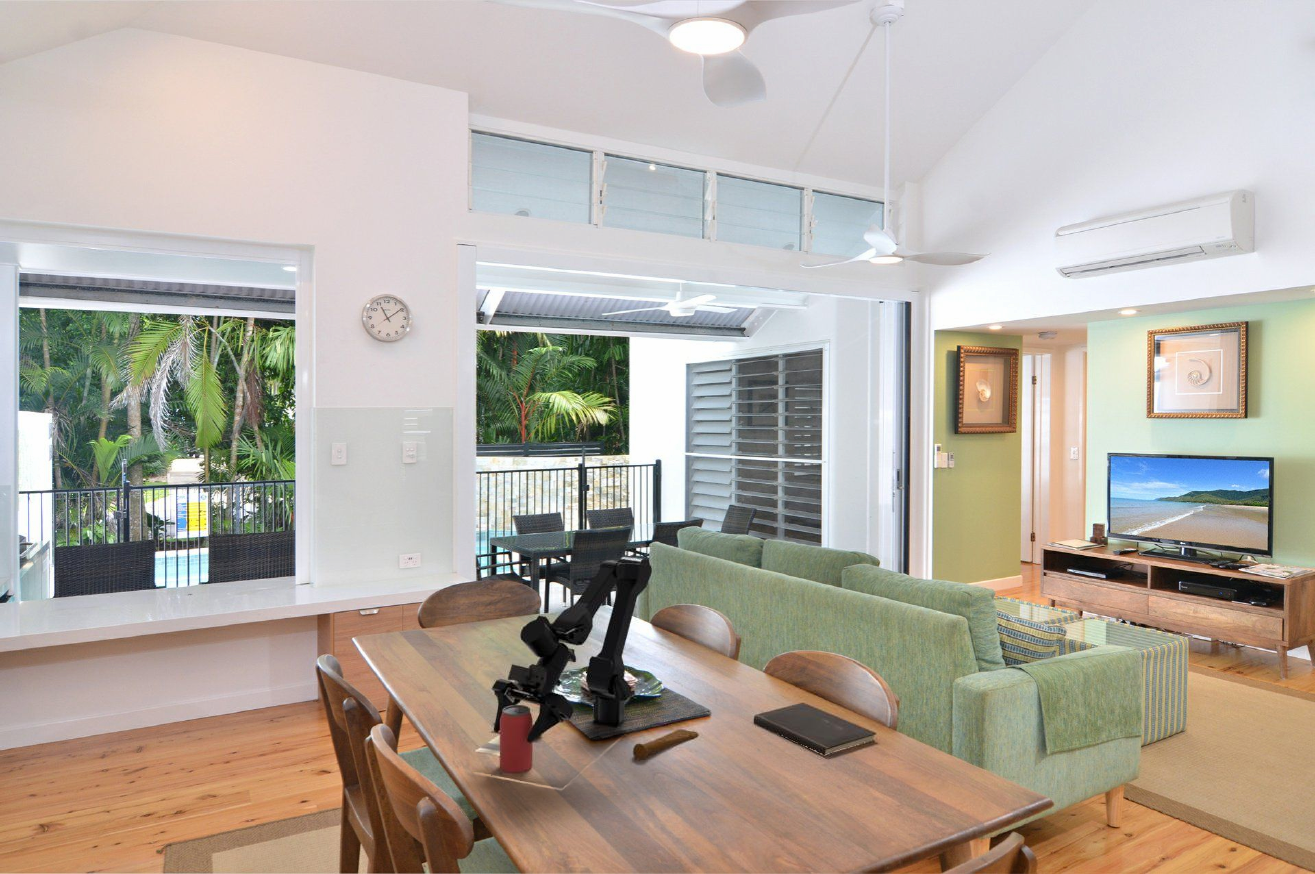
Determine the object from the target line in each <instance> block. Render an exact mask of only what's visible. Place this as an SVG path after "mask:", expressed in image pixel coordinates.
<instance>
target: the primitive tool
mask: <svg viewBox="0 0 1315 874" xmlns="http://www.w3.org/2000/svg"><path fill="white" fill-rule="evenodd" d="M699 736H700V734H699V733H698V732H696V731H694V730H693V731H692V730H687V729H683V728H682V729H681V728H677V729H676V730H674V731H672V732H670V733H668V734H665V735H663V736H660V737H658V738H655V739H654V740H651V741H648V742H646V743H636V744H635V745H634V746H633V751H632V753H633V757H634V759H637V760H639V761H644V760H646V758H647V757H648V756H650V755H652V754H656V753H658V752H660V751H663V750H666V749H668V748H670V747H674V746H675V745H678V744H681V743H683V742H686V741H689V740H693V739H695V738H698V737H699Z"/></svg>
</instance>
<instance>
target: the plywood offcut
mask: <svg viewBox="0 0 1315 874" xmlns="http://www.w3.org/2000/svg"><path fill="white" fill-rule="evenodd" d="M474 752H476V753H480V754H485V755H492V756H497V757H500V734H499V735H497V736H496V737H494V738H493V739H491V740H489V741H487V742H486V743H485V744H483V745H482V746H480V747H479V748H477V749H476V750H474Z"/></svg>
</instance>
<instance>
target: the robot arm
mask: <svg viewBox="0 0 1315 874" xmlns="http://www.w3.org/2000/svg"><path fill="white" fill-rule="evenodd" d="M649 561H650V560H648V559H646V558H640V557H632V556H622V557H621V558H619V559H618V560H616V559H615V560H614V559H613V560H604V561H602V562H601V563H600V566H599V570H598V572H597V573H596V574H595V575H594V577H593V578H592V580H591V581H590V583H588V586H587V587H586V588H585V590H584V591H583V592H582V594H581V595H580V597H579V598H578V600H577V601H576V602H575V603H574V604H573V605H572V606H569V607H567V608H566V609H564V610H563V611H562V612H561V613H560V614H559V615H558V616H557V617H556V618H555V619H554V621H552V622H550V621H549V620H550V619H549V618H547V616H546V615H545V616H544V615H538V616H537V618H536V619H533V620H530V621H529V622H528V623H527V624H526V625H524V626H523V627H522V629H521V631H520V640H521V641H522V642H523V644H525V646H526V647H528V649H529V650H530V651H531V652H532V653H533V654H534V656H536V657H538V660H537V662H536V664H535V663H532V664H530V665H529V666H528V667H525V666H521V665H517V664H514V663H512V664H511V667H510V669H509V673H508V676H507V679H503V678H499V679H496V681H495V682H494V684H493V685H492V687H491V690H492V691H493V693H494V696H495V697H496V698H497V703H498V704H497V711H496V714H495V715H496V716H495V721H494V723H495V725H493V731H494V732H495V733H496V734H498V733H500V718H501V715H502V713H503V712H502V710H503V709H504V708H506V707H508V706H512V705H519V704H520V703H521V702H522V701H523V702H526V703H530V704H534V705H537V706H539V710H538V712H539V713H538V716H537V717H536V720H535V722H533V727H532V729H531V731H530V733H529V735H528V738H527V742H528V743H531V742H533V743H534V741H535V740H537V739H538V738H539V736H540V735H542V736H543V734H544V733H546V732H547V731H549V730H550V729H551V728H553V727H555V726H556V725H558V724H559V723H564V721H565V720H566V721H570V720H571V719H572V716H573V714H574V706H573V704H572V703H571V702H570V701H569V700H568V699H567V697H565V695H564V694H560V693H556V692H553V690H554V689H555V687H561V684H562V681H561V680H560V678H561V676H562V674H563V672H564V671H565V668H566V667H567V665H568V662H571V663H576V662H577V656H576V654H575V653H576V652H575V649H574V648H571V647H569V646H568V645H572V646H582V645H584V643H586V642H587V640H588V637H589V636H590V633H591V632H592V630H593V627H594V625H593V623H594V617H595V615H596V614H597V612H598V610H600V607H601V606H602V605H603V603H604V602H605V601H606V599H607V598H608V596H609V594H610V593H611V591H612V590H614V589H613V588H614V587H616V596H615V599H614V602H613V606H612V609H611V610H612V611H611V614H610V618H609V622H608V624H607V627H606V628H607V629H606V632H605V636H604V640H603V643H602V647H601V651H599V653H598V654H597V655H596V656H593V655H591V657H590V658H589V661H588V667H587V668H586V671H585V674H586V675H585V676H586V677H585V683H587V688H588V692H589V695H590V696H594V701H593V702H592V708H593V709H592V719H593V720H592V721H591V724H593V725H599V726H605V727H609V728H610V727H612V728H618V727H619V726H621V724H623V723H624V722H626V721H627V720H628V716H625V714H626V713H625V711H626V710H625V706H626V705H625V703H626V701H628V699H629V698H630V697H631V694H632V693H631V692H632V687H631V685H630V684H629V682H628V681H627V680H626V679H625V674H626V668H625V664H624V663H625V662H624V660H623V654H624V649H625V645H626V642H627V639H628V635H629V630H630V627H631V623H632V618H633V615H634V614H633V613H634V612H635V611H634V610H635V608H636V603H637V599H638V597H639V595H640V594H641V593H642V592H644V590H645V589H646V588H647V586H648V584H649V581H650V578H651V575H652V572H653V569H652V565H651V563H650V562H649ZM567 644H568V645H567ZM513 681H515V682H517V685H518V686H519V688H518V686H517V685H516V684H515V683H514V682H513ZM520 688H521V689H520Z"/></svg>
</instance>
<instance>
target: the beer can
mask: <svg viewBox="0 0 1315 874" xmlns="http://www.w3.org/2000/svg"><path fill="white" fill-rule="evenodd" d="M502 712H503V713H502V715H501V718H500V731H499V735H500V756H499V769H500V770H501V771H503V773H509V774H518V773H524V772H527V771H528V770H530V769H531V768H532V766H533V743H534V741H533V742H531V743H528V742H527V738H528V735H529V733H530V731H531V729H532V727H533V725H534V720H533V716H532V713H531V708H530V707H529V706H527V705H524V704H517V705H512V706H508V707H506V708H504V709H503V710H502Z"/></svg>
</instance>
